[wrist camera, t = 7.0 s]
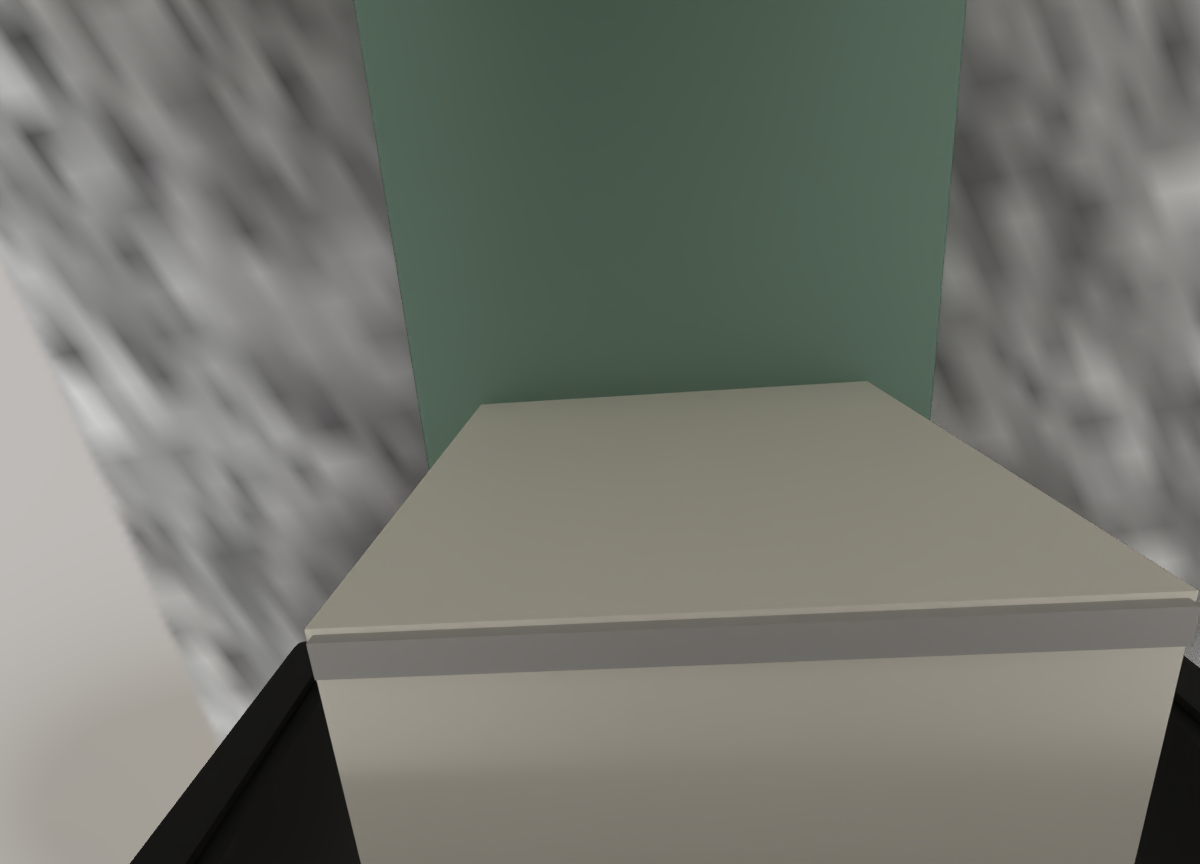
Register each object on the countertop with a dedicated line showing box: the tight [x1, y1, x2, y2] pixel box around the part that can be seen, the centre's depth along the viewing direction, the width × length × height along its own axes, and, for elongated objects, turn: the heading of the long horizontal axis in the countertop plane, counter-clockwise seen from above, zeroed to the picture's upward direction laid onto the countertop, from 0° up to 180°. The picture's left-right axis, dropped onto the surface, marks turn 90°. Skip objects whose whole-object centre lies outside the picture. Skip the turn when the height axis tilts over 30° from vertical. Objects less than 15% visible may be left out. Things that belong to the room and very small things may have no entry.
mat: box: [354, 0, 966, 470], centre depth 9 cm, size 23×8×1 cm, turn 4°
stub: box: [304, 381, 1200, 864], centre depth 8 cm, size 6×6×6 cm
